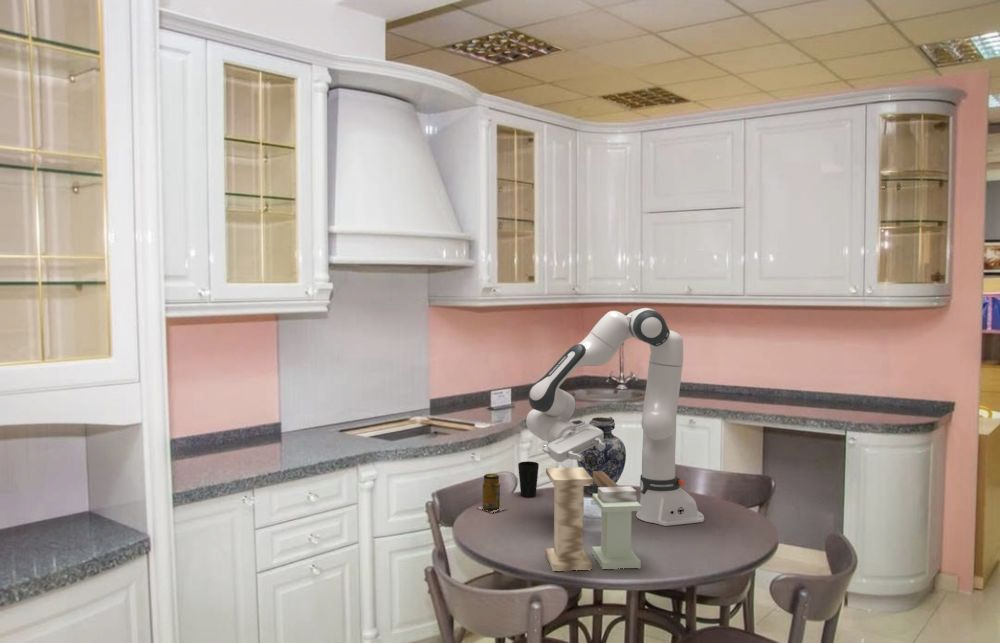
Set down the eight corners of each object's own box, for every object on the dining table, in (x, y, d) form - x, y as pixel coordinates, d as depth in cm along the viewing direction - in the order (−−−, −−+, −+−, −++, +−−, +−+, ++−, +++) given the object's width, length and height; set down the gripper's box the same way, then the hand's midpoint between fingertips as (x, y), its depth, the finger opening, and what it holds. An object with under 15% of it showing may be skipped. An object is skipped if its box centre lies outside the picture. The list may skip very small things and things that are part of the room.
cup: (527, 491, 298) (528, 460, 297) (542, 495, 293) (543, 463, 292) (513, 495, 293) (513, 463, 292) (528, 499, 287) (528, 467, 287)
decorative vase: (589, 481, 312) (590, 411, 310) (633, 488, 303) (635, 417, 300) (565, 495, 294) (567, 421, 291) (612, 503, 284) (614, 427, 282)
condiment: (492, 504, 282) (493, 471, 281) (508, 510, 275) (508, 476, 274) (476, 508, 277) (476, 474, 276) (491, 514, 271) (491, 479, 270)
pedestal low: (628, 551, 235) (628, 492, 233) (640, 568, 222) (641, 505, 220) (591, 553, 233) (592, 493, 232) (602, 569, 220) (603, 506, 219)
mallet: (612, 479, 247) (612, 470, 247) (636, 501, 225) (636, 490, 225) (581, 481, 246) (581, 471, 246) (602, 502, 223) (602, 492, 223)
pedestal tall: (581, 553, 233) (582, 467, 231) (591, 570, 220) (592, 479, 218) (545, 555, 232) (546, 468, 230) (553, 571, 219) (553, 480, 217)
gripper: (538, 439, 251) (568, 456, 241) (585, 417, 262) (615, 433, 252) (539, 456, 254) (568, 474, 243) (585, 434, 265) (615, 450, 255)
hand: (592, 453), depth 248 cm, fingers open, 8 cm apart
